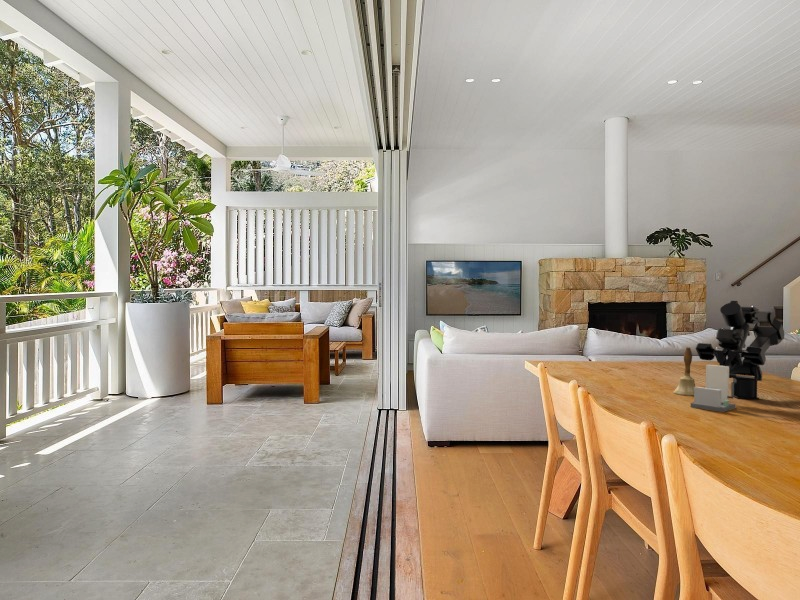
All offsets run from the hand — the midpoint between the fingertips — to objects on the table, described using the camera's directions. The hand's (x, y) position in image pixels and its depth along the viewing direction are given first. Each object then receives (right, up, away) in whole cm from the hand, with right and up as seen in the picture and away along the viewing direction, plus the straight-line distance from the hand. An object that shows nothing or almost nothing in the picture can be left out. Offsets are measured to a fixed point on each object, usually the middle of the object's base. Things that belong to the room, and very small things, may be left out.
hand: (721, 373), depth 173 cm
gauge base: (-5, -10, -4) cm, 12 cm away
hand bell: (-1, -10, +19) cm, 21 cm away
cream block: (-3, -8, -2) cm, 9 cm away
